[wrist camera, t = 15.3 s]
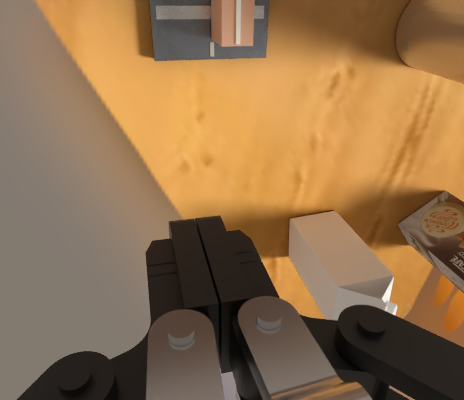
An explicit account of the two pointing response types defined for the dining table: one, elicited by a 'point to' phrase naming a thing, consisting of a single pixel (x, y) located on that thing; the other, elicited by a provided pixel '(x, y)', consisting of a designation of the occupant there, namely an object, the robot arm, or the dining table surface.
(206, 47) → the console board
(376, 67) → the dining table surface
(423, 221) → the coffee box
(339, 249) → the milk carton
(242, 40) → the fader terracotta
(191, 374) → the robot arm
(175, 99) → the dining table surface
